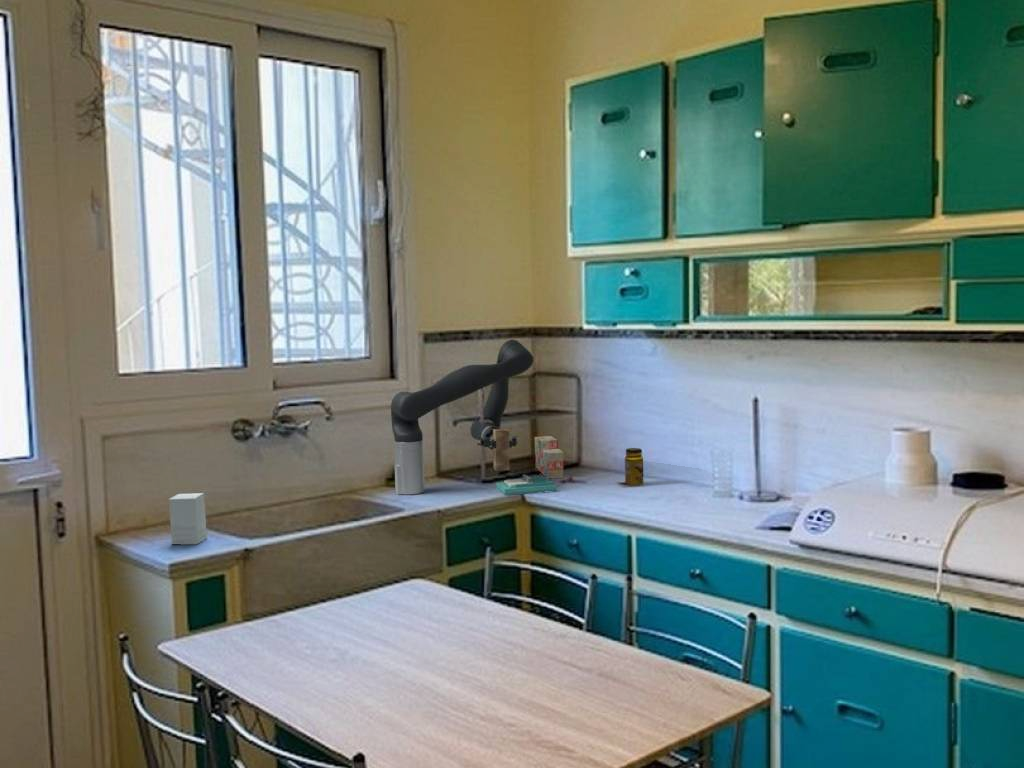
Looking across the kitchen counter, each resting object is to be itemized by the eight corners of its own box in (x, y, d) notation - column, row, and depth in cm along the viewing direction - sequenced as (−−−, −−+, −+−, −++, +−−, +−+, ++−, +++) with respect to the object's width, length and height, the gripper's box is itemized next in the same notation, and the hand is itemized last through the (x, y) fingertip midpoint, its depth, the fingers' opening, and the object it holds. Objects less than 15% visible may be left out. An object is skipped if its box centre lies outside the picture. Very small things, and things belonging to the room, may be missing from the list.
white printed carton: (564, 478, 352) (563, 443, 350) (546, 479, 351) (545, 444, 350) (551, 468, 373) (551, 435, 372) (535, 469, 372) (534, 436, 371)
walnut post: (495, 470, 328) (495, 431, 327) (493, 468, 332) (493, 429, 331) (509, 470, 329) (509, 430, 328) (506, 467, 333) (506, 428, 332)
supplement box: (207, 538, 276) (205, 492, 275) (197, 544, 269) (195, 498, 268) (181, 538, 277) (178, 493, 276) (170, 545, 269) (167, 498, 268)
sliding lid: (510, 487, 326) (510, 479, 326) (504, 482, 334) (504, 475, 334) (532, 485, 328) (532, 478, 328) (526, 481, 336) (526, 474, 335)
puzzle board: (505, 495, 324) (504, 486, 323) (496, 488, 335) (496, 479, 335) (555, 491, 328) (555, 482, 328) (545, 485, 339) (545, 476, 339)
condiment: (647, 486, 333) (646, 450, 332) (622, 487, 332) (621, 451, 331) (641, 482, 340) (640, 446, 339) (616, 483, 339) (615, 448, 338)
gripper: (514, 447, 346) (524, 455, 329) (473, 449, 343) (481, 456, 326) (514, 426, 345) (524, 432, 328) (472, 427, 342) (481, 433, 326)
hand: (502, 444), depth 327 cm, fingers closed on walnut post, 4 cm apart
